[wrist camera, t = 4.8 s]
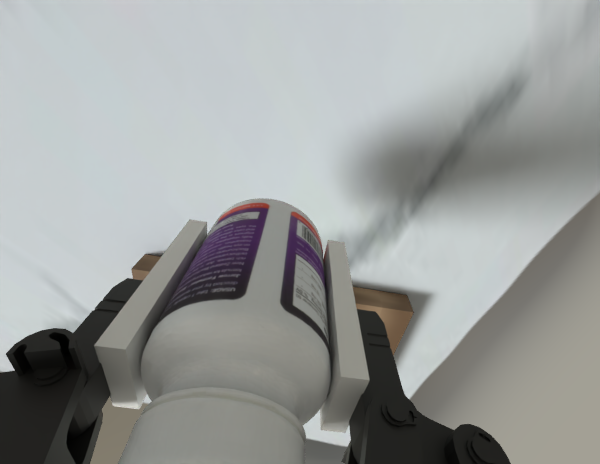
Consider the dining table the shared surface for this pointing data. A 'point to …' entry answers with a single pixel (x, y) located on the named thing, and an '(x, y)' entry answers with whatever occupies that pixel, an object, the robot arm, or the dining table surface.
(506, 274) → the dining table surface
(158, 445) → the pill bottle
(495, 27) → the dining table surface
